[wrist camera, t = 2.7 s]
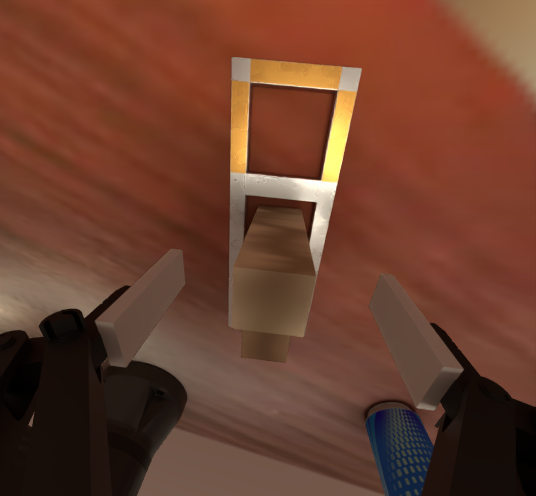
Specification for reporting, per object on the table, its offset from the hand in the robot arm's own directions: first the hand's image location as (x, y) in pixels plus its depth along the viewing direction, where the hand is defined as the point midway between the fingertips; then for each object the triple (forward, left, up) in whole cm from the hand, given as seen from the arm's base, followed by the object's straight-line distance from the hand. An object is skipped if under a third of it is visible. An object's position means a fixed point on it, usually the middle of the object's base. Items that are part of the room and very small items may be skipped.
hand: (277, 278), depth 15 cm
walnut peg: (0, -9, -11) cm, 14 cm away
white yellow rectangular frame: (0, 0, -11) cm, 11 cm away
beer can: (+22, -31, -11) cm, 40 cm away
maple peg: (0, 0, -11) cm, 11 cm away
